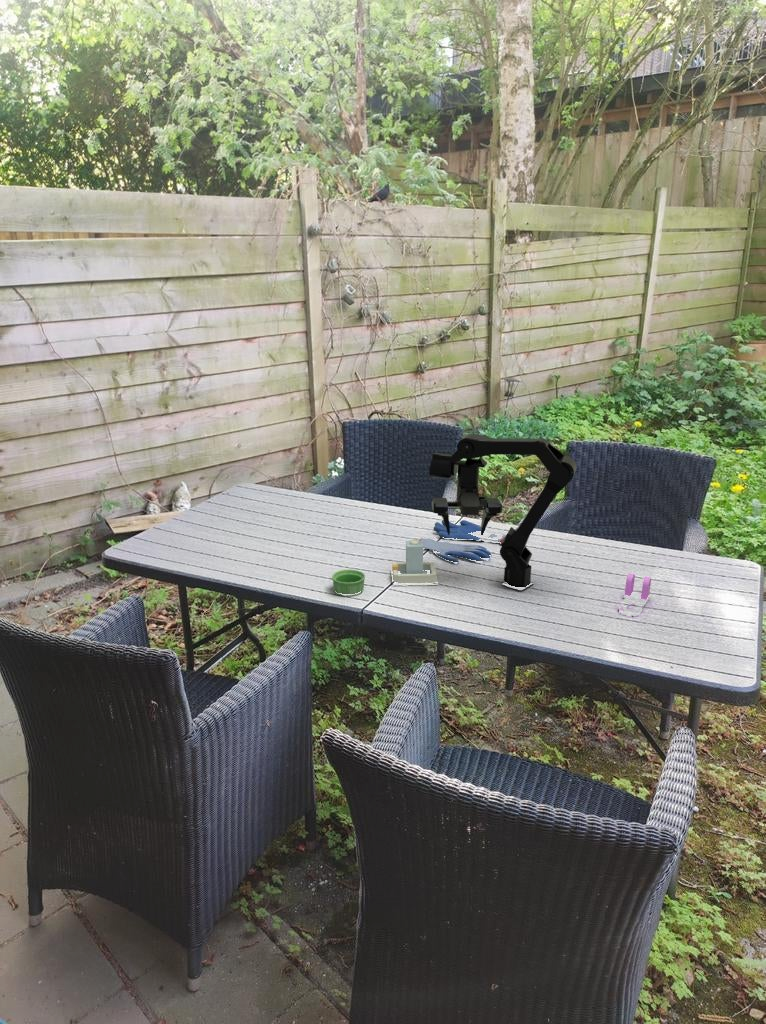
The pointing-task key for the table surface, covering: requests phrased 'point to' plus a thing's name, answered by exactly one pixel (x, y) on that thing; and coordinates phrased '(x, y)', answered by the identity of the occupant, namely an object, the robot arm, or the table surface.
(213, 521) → the table surface
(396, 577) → the pocket tray
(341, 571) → the ramekin
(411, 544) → the block
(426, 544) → the pair of gloves
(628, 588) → the bracket
